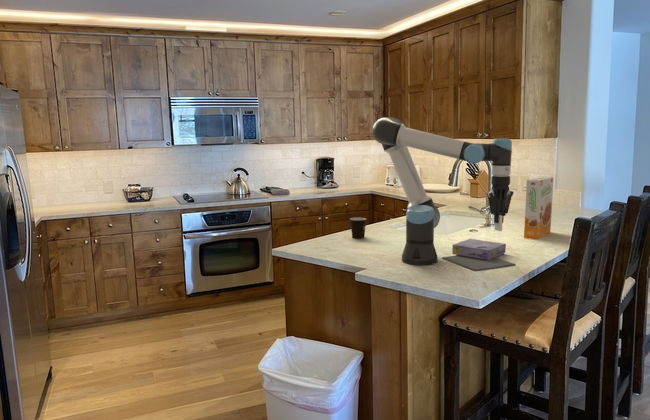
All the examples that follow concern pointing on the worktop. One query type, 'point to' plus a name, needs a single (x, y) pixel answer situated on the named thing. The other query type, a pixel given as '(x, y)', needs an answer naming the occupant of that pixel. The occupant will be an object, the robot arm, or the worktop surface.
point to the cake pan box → (478, 249)
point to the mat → (478, 262)
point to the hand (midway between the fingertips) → (498, 230)
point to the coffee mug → (358, 227)
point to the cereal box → (538, 207)
